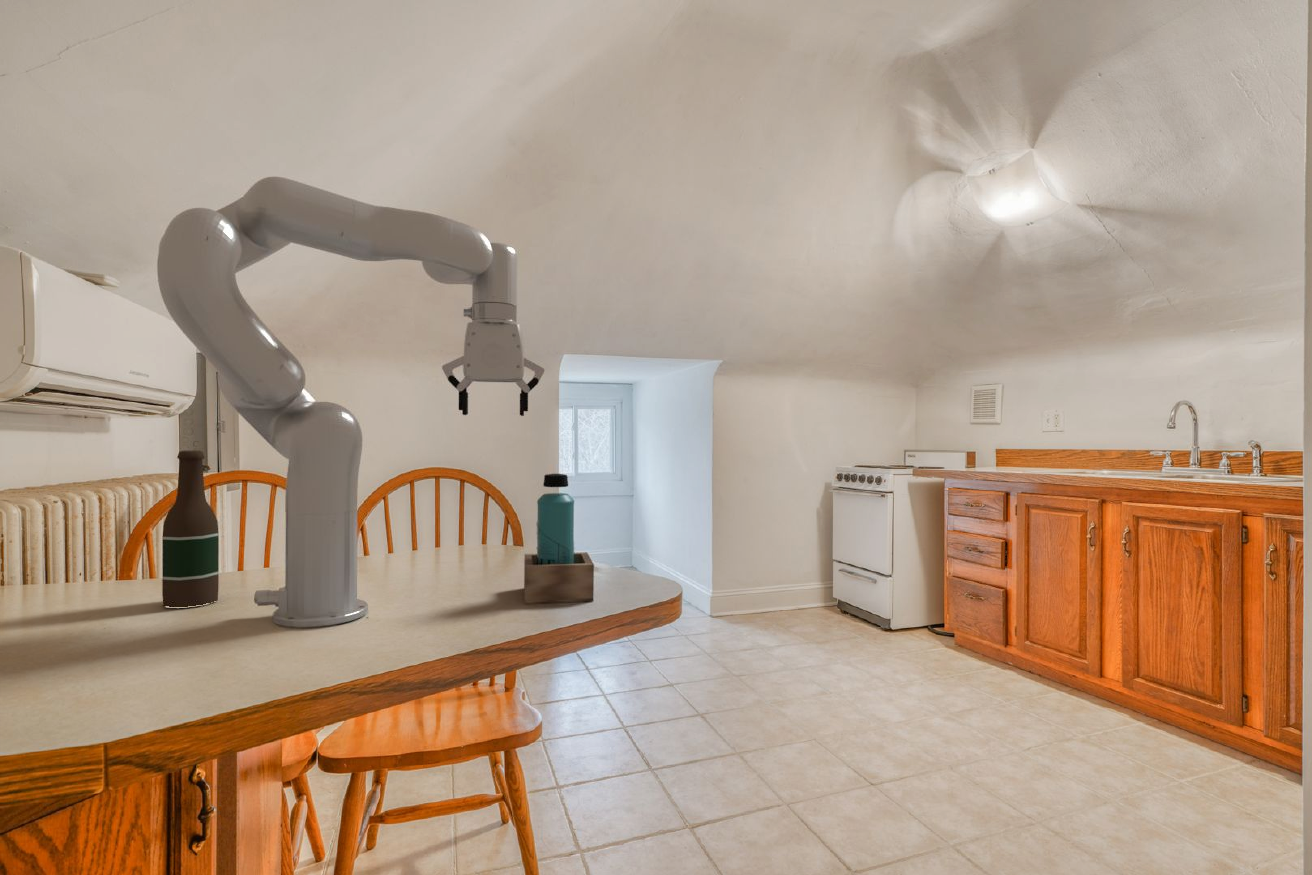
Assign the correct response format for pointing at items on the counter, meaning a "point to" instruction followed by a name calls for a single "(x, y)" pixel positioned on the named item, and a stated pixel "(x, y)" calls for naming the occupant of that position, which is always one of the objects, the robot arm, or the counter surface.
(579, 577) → the holder
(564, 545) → the beverage bottle
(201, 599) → the beer bottle
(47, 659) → the counter surface
